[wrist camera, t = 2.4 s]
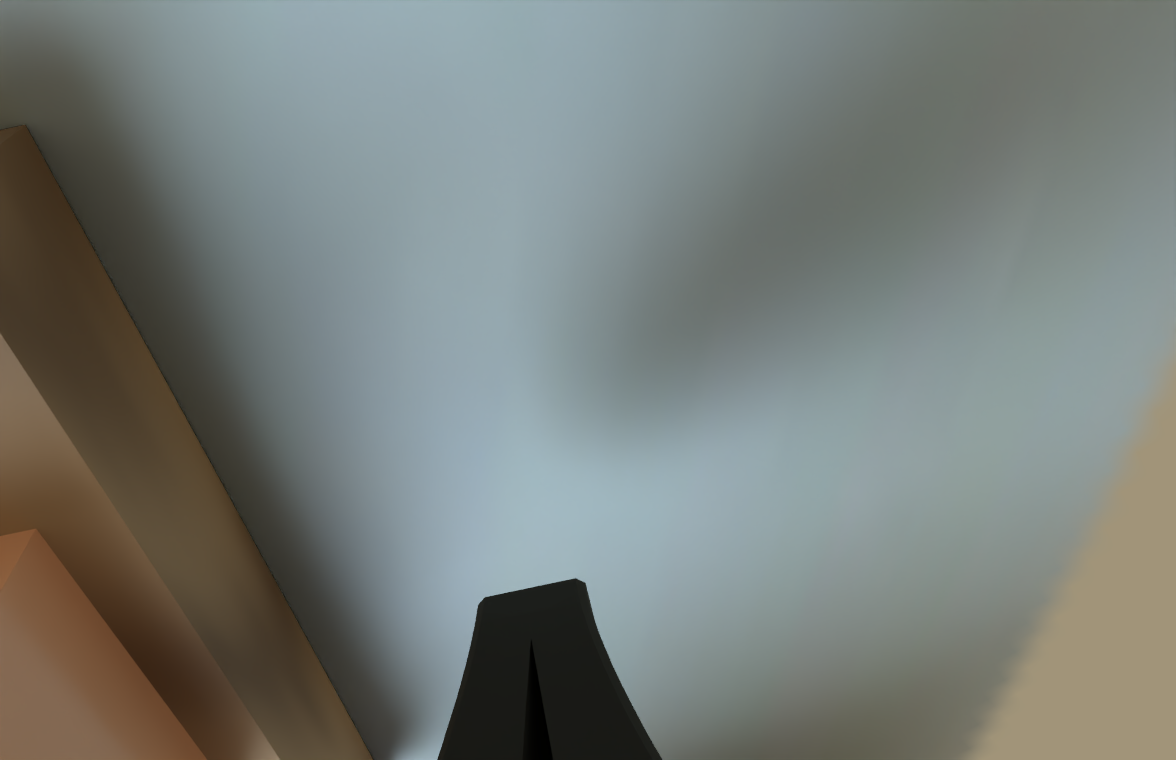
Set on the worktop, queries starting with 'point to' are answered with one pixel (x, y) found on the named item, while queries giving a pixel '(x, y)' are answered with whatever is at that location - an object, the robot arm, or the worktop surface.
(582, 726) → the robot arm
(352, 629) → the worktop surface
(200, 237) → the worktop surface
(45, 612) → the tile
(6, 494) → the brown wooden flat slab
